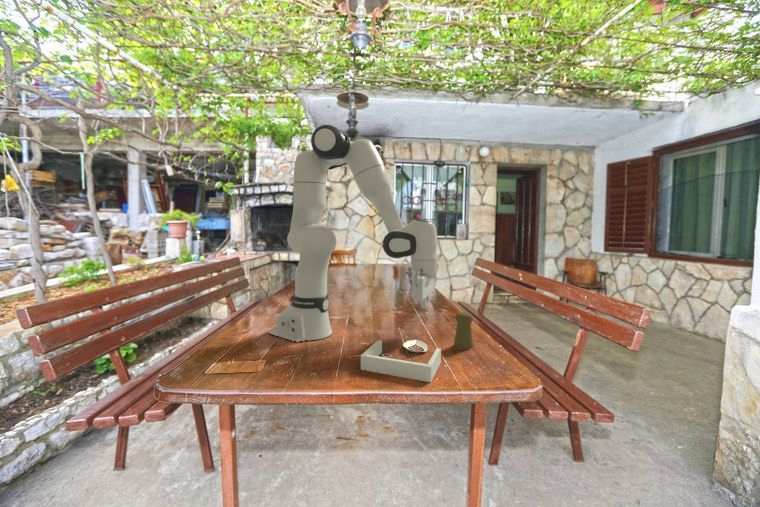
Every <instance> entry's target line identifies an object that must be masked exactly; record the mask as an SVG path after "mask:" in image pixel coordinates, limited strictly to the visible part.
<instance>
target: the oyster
mask: <svg viewBox="0 0 760 507" xmlns="http://www.w3.org/2000/svg"><path fill="white" fill-rule="evenodd" d="M415 344H416V345H417V346H420V347H422V348H423V349H424V351H422V350H420V349H417V348H416V347H412V348H411V347H410V346H413V345H415ZM402 346H403V347H404V348H405V349H406V350H407V351H409V352H412V353H425V352H427V351H428V349H429V346H428V345H427V344H426V343H425V342H424V341H422V340H420V339H417V338H416V339H413V340H407V341H405V342H404V343H403V344H402ZM408 347H410V348H411V349H409V348H408Z"/></svg>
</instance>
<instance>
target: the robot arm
mask: <svg viewBox="0 0 760 507" xmlns="http://www.w3.org/2000/svg"><path fill="white" fill-rule="evenodd" d="M310 144H311V147H312V149H311V150H303V151H302V152H299V153H298V154H297V155H296V158H295V162H294V166H293V167H294V168H293V178H292V180H293V184H292V185H293V192H292V193H293V207H292V208H293V210H292V214H291V215H292V216H291V221H290V228H289V232H288V234H287V236H286V237H287V239H286V240H287V245H288V246H289V248H291V250H292V251H294V252H295V254H298V255H299V259H298V260H299V261H298V264H297V268H296V271H295V274H294V283H295V284H294V290H295V294H294V295H293V296H291V297H288V299H289V300H288V301H289V302H291V303H290V306H288V307H287V308H286V309H285V310H284V311H282V312H281V313H280V314H279V315H278V316H277V317H276V321H275V326H274V327H272V328H271V329H270V330H269V332H268V334H269V333H270V334H273V335H276V336H280V337H283V338H286V339H289V340H288V341H290V340H292V341H291V342H294V341H296V342H295V343H301V342H300V341H302V342H306V341H305V340H307V341H315V340H321V339H325V338H328V337H329V336H331V335H332V333H333V330H332V327H331V323H330V318H329V305H330V304H329V302H330V301H329V294H328V270H329V264H330V259H331V256H332V253H333V252H334V251H335V249H336V246H337V237H336V234H335V233H334V231H333V230H332V229H329V228H328V227H326V226H324V225H322V219H323V215H324V212H325V211H326V209H327V171H328V170H333V169H337V168H339V167H341V168H342V167H343V166H345V165H347V166H348V167H349V169H350V172H351V174H352V176H353V180H354V181H355V184H356V186H357V188H358V189H359V191H360V193H361V194H362V196H363V197H364V198H366V199H367V200H368V201H369V202H370V203H372V204H373V205H374V206H375V208H376V210H377V211H378V212H379V214H380V216H381V219H382V222H383V224H384V226H385V228H386V230H387V234H386V235H385V236H384V238H383V240H382V250H383V251H384V253H385V254H386V255H387V256H388V257H390V258H393V259H403V258H406V257H410V272H411V274H414V275H413V277H412V280H411V300H412V301H415V302H416V301H417V302H420V308H421V309H427V308H428V306H429V299H430V294H431V293H432V292H433V291H434V290H435V289H436V285H437V275H438V274H437V273H438V272H439V263H438V255H437V248H438V231H437V226H436V225H435V223H433V221H430V220H426V219H419V218H415V219H413V220H412V221H410V222H409V223H407V224H406V225H405V224H404V223H403V220H402V217H401V215H400V213H399V211H398V208H397V206H396V204H395V201H394V197H393V193H392V188H391V183H390V178H389V175H388V171H387V169H386V166H385V164H384V161H383V159H382V158H381V155H380V154H379V151H378V150H377V147H375V145H374V143H373V142H372V141H371V140H370V139H366V138H359V139H356V140H354V141H353V140H351V138H350V137H349V136H348V135H347V134H345V133H344V132H343V131H342V130H340V129H339V128H338V127H336V126H333V125H331V124H322V125H319V126H318V127H317V128H315V129H314V130H313V133H312V134H311V139H310ZM276 336H275V337H276ZM283 338H282V339H283ZM286 339H285V340H286Z"/></svg>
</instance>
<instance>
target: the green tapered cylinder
mask: <svg viewBox="0 0 760 507" xmlns="http://www.w3.org/2000/svg"><path fill="white" fill-rule="evenodd" d="M455 321H456V329H455V330H456V331H455V336H454V343H453V347H454V346H455V347H457V348H456V349H458V348H460V349H459V350H461V349H470V350H472V349H473V348H474V343H473V333H472V326H471V325H472V322H473V315H472V313H470V312H466V311H460V312H457V313H456V316H455ZM455 347H454V348H455ZM472 347H473V348H472ZM471 348H472V349H471Z"/></svg>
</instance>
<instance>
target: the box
mask: <svg viewBox="0 0 760 507" xmlns="http://www.w3.org/2000/svg"><path fill="white" fill-rule="evenodd" d="M381 353H383V340H381V339H378V340H376V341H375V342H374V343H373V344H372V345H371V346H369V347H368V348H367V349H366V350H365V351H364V352H363V353H362V354H360V370H361V371H365V370H366V371H367V372H371V373H376V372H377V373H376V374H382V375H387V374H388V375H387V376H393V377H399V378H404V379H410V380H414V381H415V380H416V381H421V382H426V383H427V382H428V383H432V381H433V379H434V377H435V374H436V373H437V371H438V369H439V367H440V365H441V363H442V348H438V347H436V349H435V351H434V352H433V354H432V356H431V358H430V359H429V360H428V362H427V363H423V362H417V361H409V360H404V359H397V358H392V357H386V356H379V355H380V354H381ZM381 355H382V354H381Z"/></svg>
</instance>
